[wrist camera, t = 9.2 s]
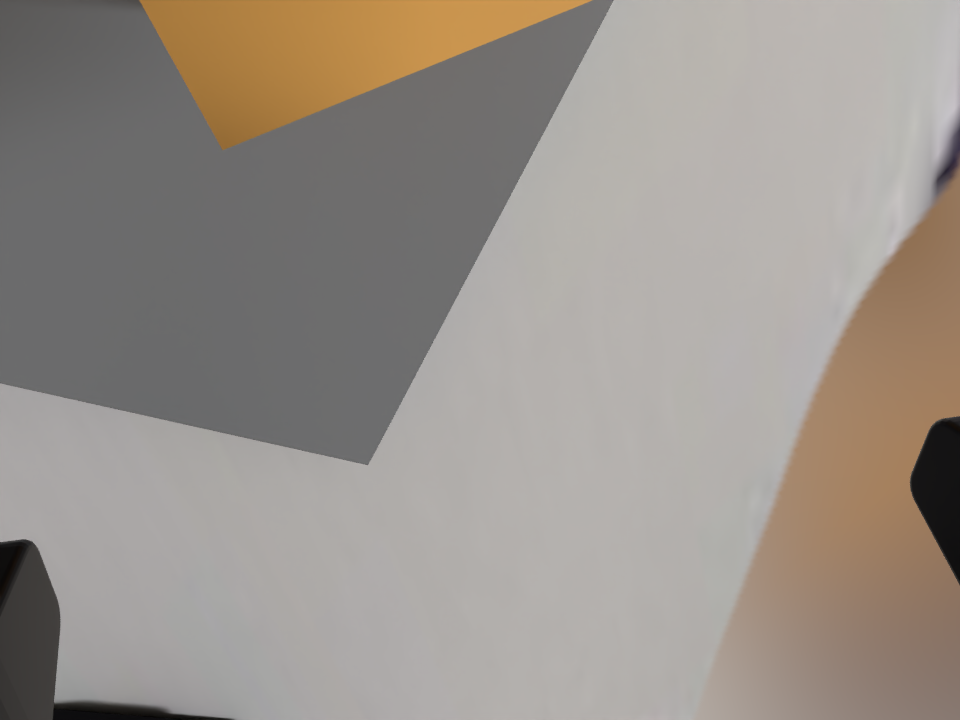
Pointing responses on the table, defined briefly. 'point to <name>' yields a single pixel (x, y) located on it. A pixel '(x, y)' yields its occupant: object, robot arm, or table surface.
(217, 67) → the cardboard cube
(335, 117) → the plate
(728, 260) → the table surface
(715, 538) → the table surface
